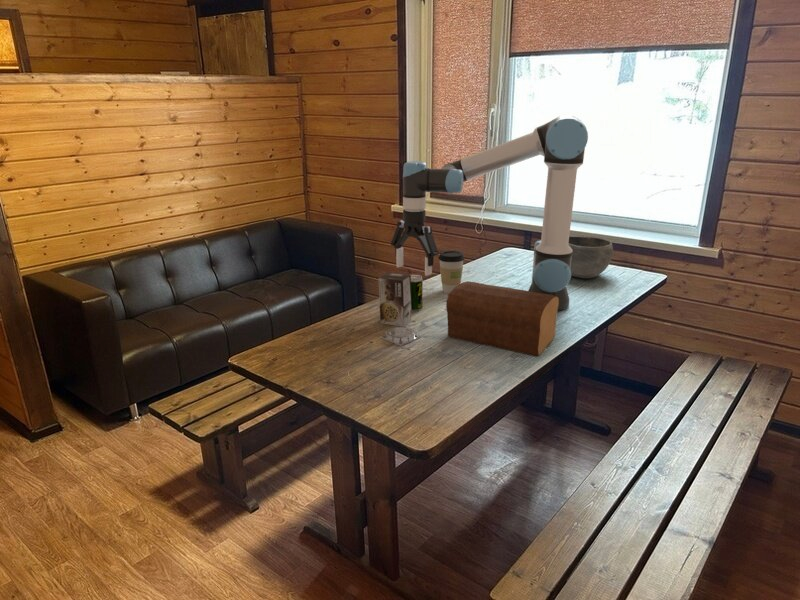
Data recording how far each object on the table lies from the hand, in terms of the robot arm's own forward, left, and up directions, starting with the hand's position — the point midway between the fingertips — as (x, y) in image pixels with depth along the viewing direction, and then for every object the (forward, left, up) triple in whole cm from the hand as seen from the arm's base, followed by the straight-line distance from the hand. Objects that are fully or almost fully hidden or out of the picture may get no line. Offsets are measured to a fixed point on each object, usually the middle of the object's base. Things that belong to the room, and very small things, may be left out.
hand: (413, 270), depth 200 cm
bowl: (-24, -74, -14) cm, 79 cm away
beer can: (0, 0, -14) cm, 14 cm away
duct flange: (-14, +21, -14) cm, 29 cm away
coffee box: (-4, +13, -15) cm, 20 cm away
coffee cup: (+3, -23, -14) cm, 27 cm away
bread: (-37, -1, -15) cm, 40 cm away
